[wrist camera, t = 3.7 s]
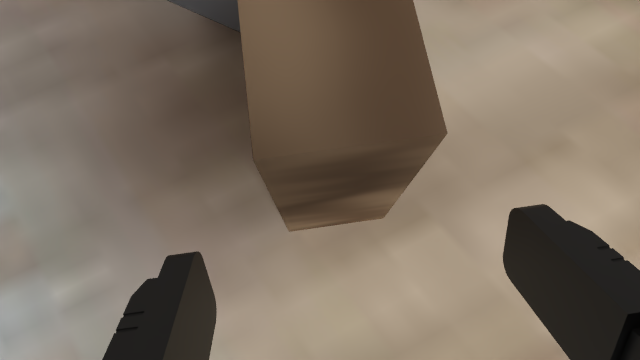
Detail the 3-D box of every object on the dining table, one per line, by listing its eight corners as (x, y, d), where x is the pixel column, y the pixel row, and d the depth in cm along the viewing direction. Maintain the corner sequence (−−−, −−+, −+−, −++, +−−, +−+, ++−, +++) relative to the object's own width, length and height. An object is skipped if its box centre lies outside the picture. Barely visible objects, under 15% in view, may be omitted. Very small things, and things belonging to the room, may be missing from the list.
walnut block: (289, 231, 20) (252, 160, 10) (278, 143, 22) (237, -2, 11) (383, 217, 21) (447, 133, 10) (366, 131, 22) (407, -23, 11)
